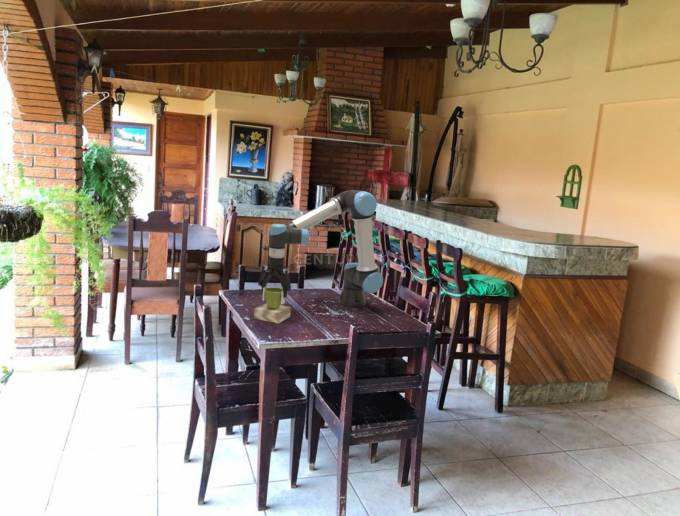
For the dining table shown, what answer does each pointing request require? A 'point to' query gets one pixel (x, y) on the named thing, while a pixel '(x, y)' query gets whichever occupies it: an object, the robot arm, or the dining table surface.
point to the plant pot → (273, 297)
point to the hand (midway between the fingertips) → (273, 301)
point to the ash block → (272, 313)
